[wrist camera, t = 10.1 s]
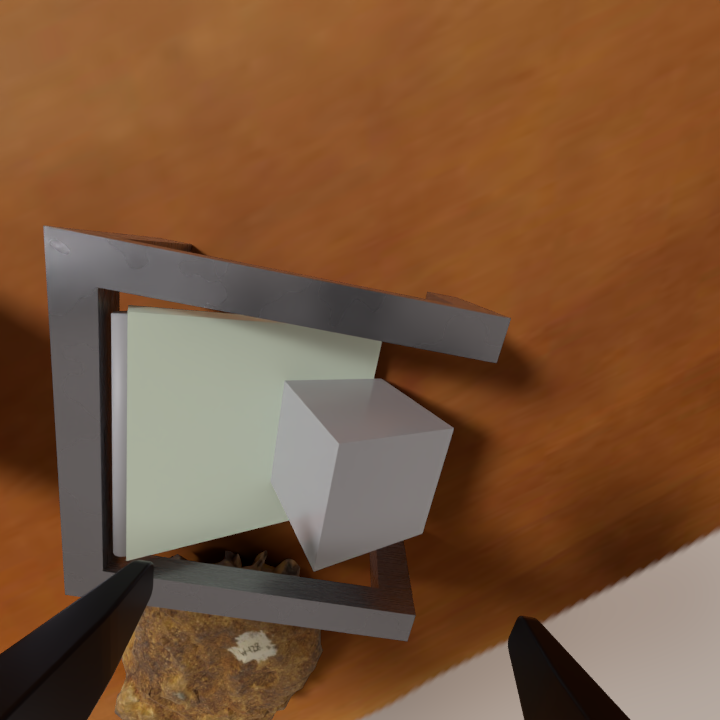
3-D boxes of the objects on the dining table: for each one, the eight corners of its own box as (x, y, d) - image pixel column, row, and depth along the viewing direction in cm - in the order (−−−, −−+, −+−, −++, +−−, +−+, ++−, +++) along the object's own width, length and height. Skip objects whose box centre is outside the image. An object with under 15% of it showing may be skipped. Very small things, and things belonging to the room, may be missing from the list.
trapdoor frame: (150, 496, 20) (65, 594, 14) (158, 237, 16) (43, 225, 10) (393, 533, 20) (407, 641, 15) (457, 297, 17) (511, 318, 11)
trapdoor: (113, 544, 14) (112, 564, 13) (112, 303, 11) (109, 310, 10) (337, 494, 20) (346, 506, 19) (372, 325, 17) (384, 331, 16)
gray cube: (270, 481, 16) (313, 571, 12) (284, 380, 14) (339, 443, 10) (362, 464, 18) (422, 533, 14) (381, 378, 17) (454, 428, 13)
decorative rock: (262, 711, 26) (349, 564, 23) (249, 792, 22) (352, 627, 19) (106, 674, 24) (178, 506, 21) (61, 756, 20) (141, 564, 17)
